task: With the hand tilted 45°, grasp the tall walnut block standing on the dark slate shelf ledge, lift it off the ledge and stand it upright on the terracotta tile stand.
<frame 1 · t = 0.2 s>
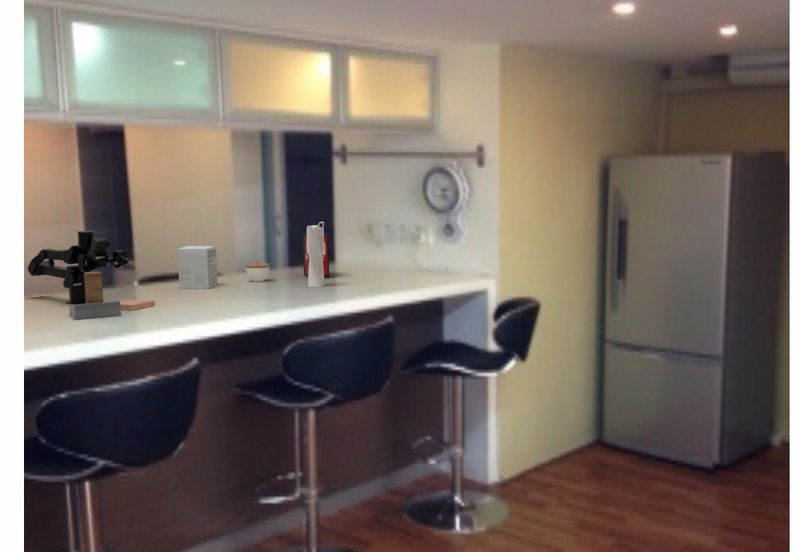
hand: (117, 263, 304), 17 cm above the worktop, tool horizontal, fingers open, 9 cm apart
supplement box: (198, 287, 362), on the worktop
terracotta tile stand: (131, 307, 308), on the worktop
walnut block: (94, 306, 291), point 3 cm above the worktop, touching slate shelf ledge
cleaning product box: (316, 277, 394), on the worktop
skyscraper: (316, 286, 361), on the worktop
slate shelf ledge: (95, 315, 292), on the worktop
lidded jar: (258, 281, 379), on the worktop
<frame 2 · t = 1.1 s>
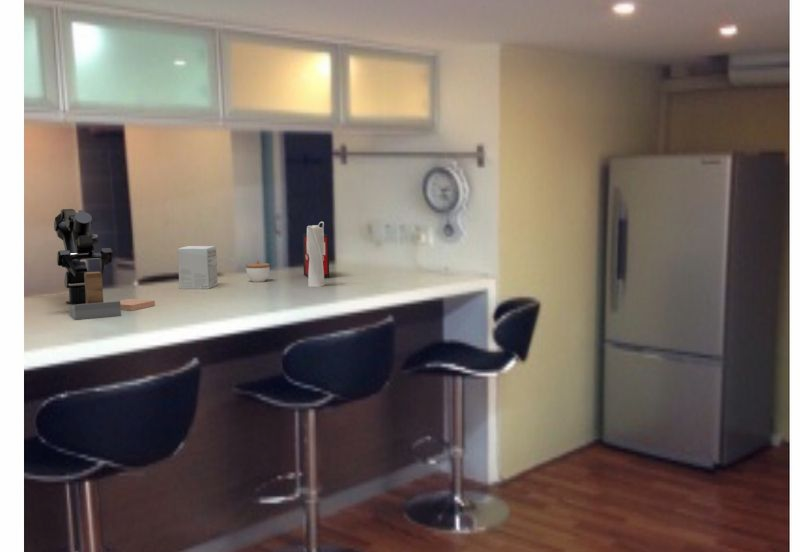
hand: (89, 274, 297), 14 cm above the worktop, tool tilted 45°, fingers open, 9 cm apart
nothing on the worktop moved.
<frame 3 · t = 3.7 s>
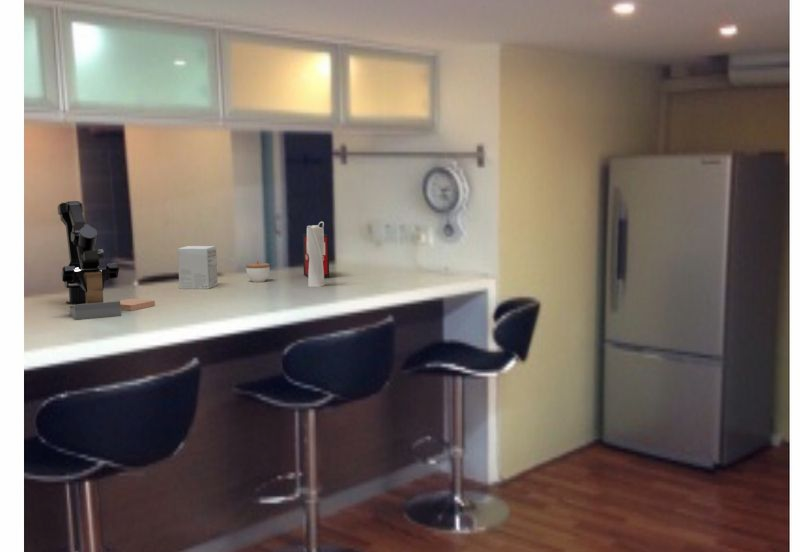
hand: (94, 290, 289), 9 cm above the worktop, tool tilted 45°, fingers closed on walnut block, 5 cm apart
walnut block: (94, 306, 291), point 3 cm above the worktop, touching gripper, slate shelf ledge
everything else where it was.
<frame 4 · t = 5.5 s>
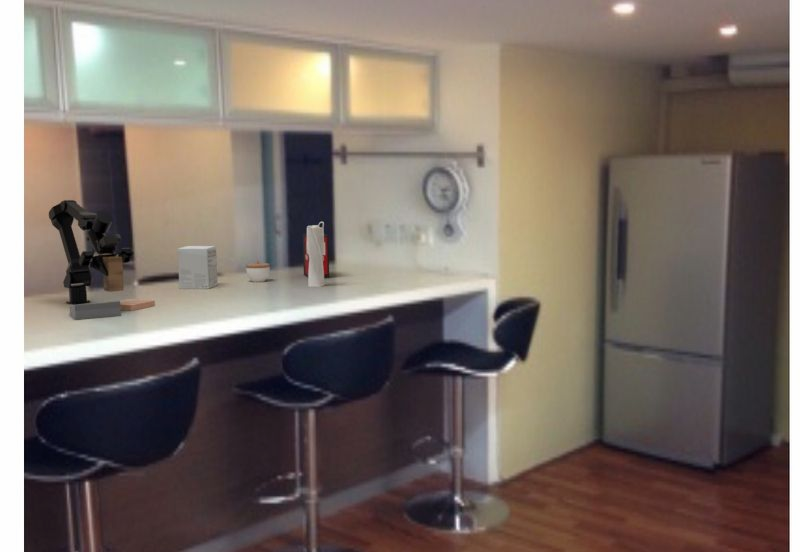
hand: (114, 274, 296), 13 cm above the worktop, tool tilted 45°, fingers closed on walnut block, 5 cm apart
walnut block: (113, 290, 298), point 8 cm above the worktop, touching gripper
everything else where it was.
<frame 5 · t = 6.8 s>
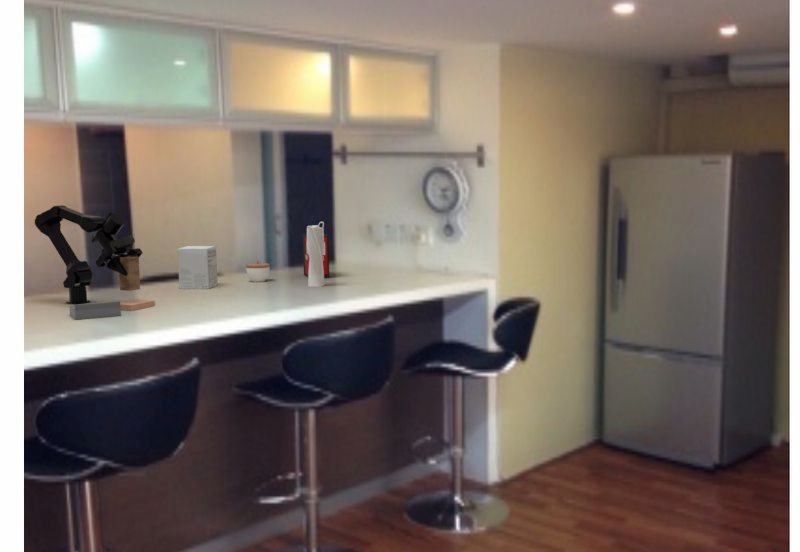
hand: (132, 274, 306), 12 cm above the worktop, tool tilted 45°, fingers closed on walnut block, 5 cm apart
walnut block: (130, 289, 307), point 7 cm above the worktop, touching gripper
everything else where it was.
when the fingers open (9 cm above the worktop, at t = 7.8 s): walnut block drops 1 cm, resting on terracotta tile stand.
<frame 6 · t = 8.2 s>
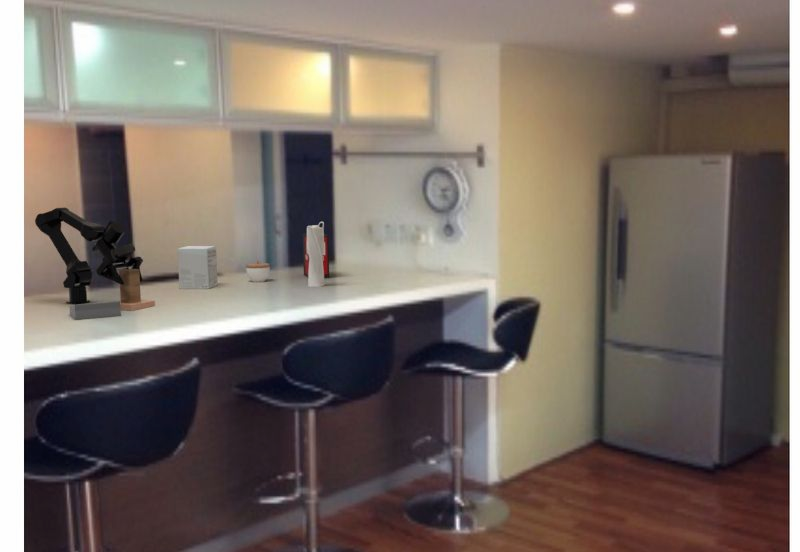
hand: (132, 282, 306), 9 cm above the worktop, tool tilted 45°, fingers open, 9 cm apart
walnut block: (130, 301, 308), point 2 cm above the worktop, touching terracotta tile stand
everything else where it was.
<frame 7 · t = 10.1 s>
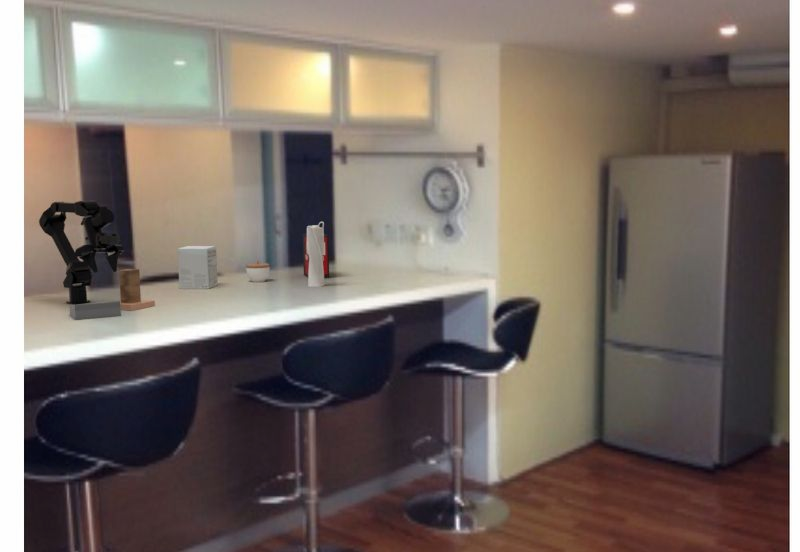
hand: (105, 272, 307), 13 cm above the worktop, tool tilted 20°, fingers open, 9 cm apart
nothing on the worktop moved.
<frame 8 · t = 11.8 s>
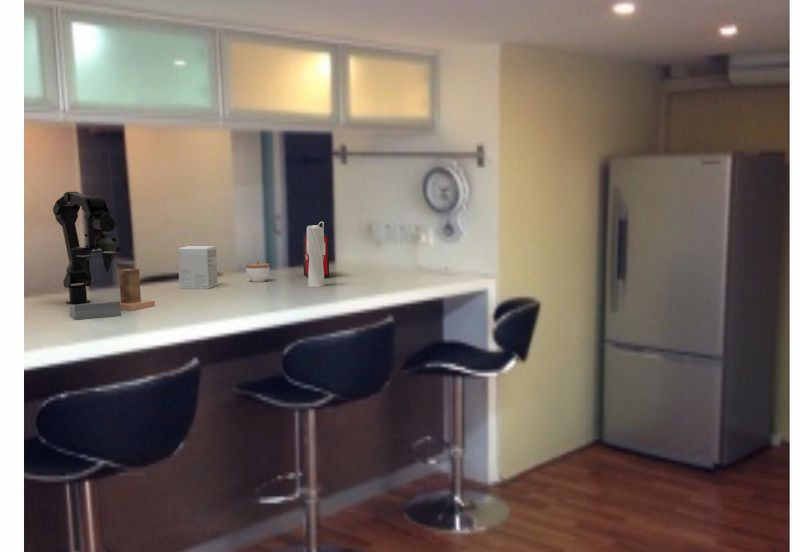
hand: (97, 273, 306), 13 cm above the worktop, tool pointing down, fingers open, 9 cm apart
nothing on the worktop moved.
at the end: walnut block 0.0 cm off-centre on the terracotta tile stand, point 2.0 cm above the terracotta tile stand's base; walnut block tilted 0°; the gripper is holding nothing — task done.
